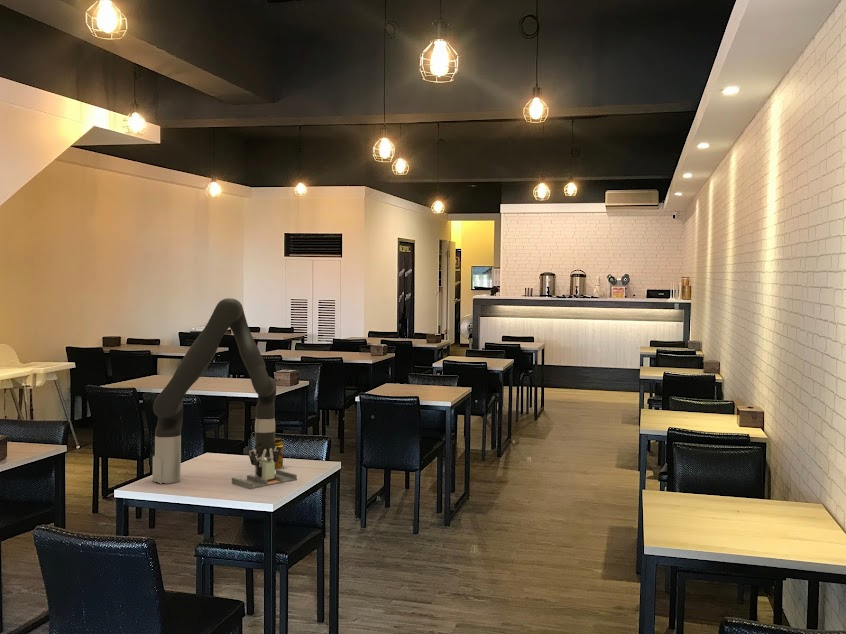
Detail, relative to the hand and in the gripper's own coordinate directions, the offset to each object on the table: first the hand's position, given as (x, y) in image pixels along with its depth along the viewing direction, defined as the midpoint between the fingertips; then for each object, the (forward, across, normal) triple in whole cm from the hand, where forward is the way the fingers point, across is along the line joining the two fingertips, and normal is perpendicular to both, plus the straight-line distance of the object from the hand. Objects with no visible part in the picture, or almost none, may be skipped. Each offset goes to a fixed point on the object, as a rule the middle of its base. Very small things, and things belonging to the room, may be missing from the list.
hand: (264, 475), depth 290 cm
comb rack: (+2, 0, 0) cm, 2 cm away
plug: (+1, 0, 0) cm, 1 cm away
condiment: (+3, -16, -17) cm, 24 cm away
